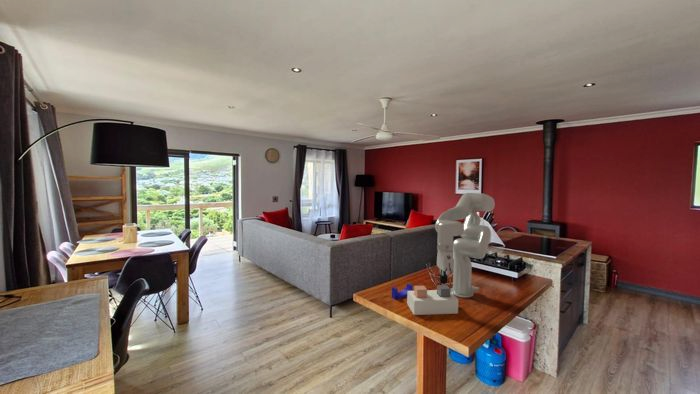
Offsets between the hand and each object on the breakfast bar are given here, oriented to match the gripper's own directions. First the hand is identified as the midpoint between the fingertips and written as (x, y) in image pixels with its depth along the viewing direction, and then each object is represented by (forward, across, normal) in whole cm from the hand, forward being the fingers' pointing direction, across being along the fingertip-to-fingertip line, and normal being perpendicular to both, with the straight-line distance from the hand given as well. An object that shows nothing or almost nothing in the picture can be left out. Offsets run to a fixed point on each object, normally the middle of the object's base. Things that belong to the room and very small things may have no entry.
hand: (443, 282), depth 144 cm
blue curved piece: (+14, +16, +17) cm, 27 cm away
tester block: (+13, +1, +5) cm, 14 cm away
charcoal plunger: (+9, +1, -1) cm, 9 cm away
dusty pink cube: (+9, +1, +11) cm, 15 cm away
